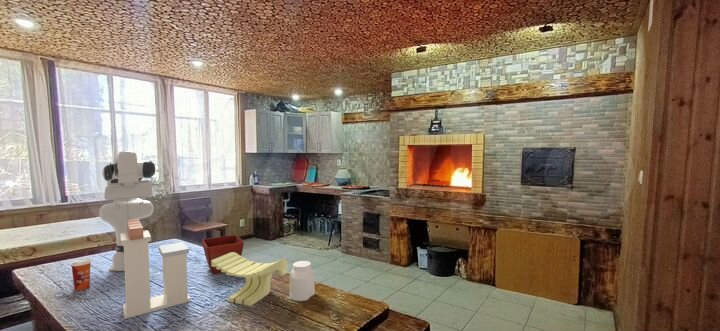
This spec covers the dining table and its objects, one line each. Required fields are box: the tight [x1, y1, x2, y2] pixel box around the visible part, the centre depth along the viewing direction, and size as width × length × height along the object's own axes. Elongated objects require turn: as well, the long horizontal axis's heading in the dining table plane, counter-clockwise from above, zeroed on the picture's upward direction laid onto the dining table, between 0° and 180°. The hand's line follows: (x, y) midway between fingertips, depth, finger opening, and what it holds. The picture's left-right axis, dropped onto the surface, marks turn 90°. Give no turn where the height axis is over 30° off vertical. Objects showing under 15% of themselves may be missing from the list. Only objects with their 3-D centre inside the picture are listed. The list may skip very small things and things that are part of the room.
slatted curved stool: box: [211, 252, 288, 307], centre depth 147 cm, size 30×16×18 cm, turn 70°
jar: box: [288, 260, 316, 302], centre depth 148 cm, size 12×10×15 cm
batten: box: [126, 219, 144, 240], centre depth 137 cm, size 24×4×4 cm, turn 39°
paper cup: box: [70, 258, 92, 292], centre depth 157 cm, size 8×8×14 cm
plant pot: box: [201, 234, 245, 276], centre depth 182 cm, size 19×19×17 cm
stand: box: [120, 229, 191, 320], centre depth 140 cm, size 14×24×32 cm, turn 129°
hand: (129, 207), depth 163 cm, fingers open, 8 cm apart
